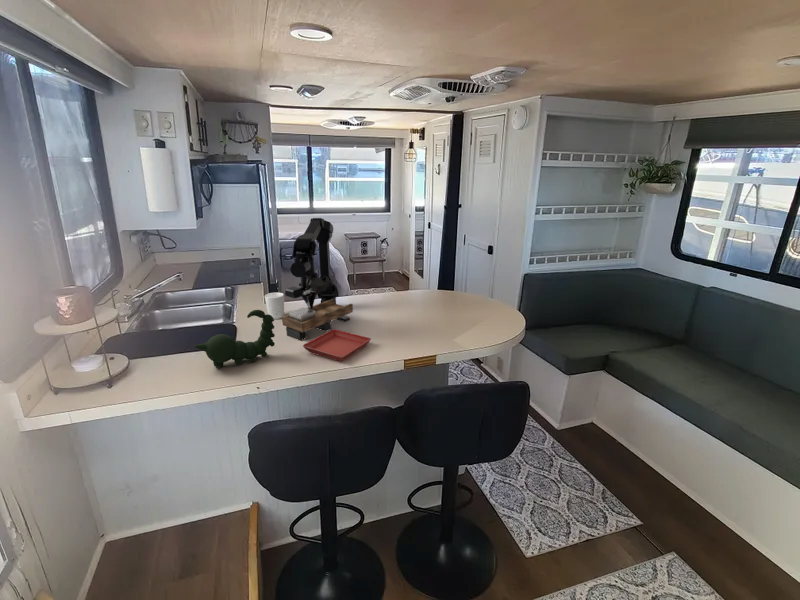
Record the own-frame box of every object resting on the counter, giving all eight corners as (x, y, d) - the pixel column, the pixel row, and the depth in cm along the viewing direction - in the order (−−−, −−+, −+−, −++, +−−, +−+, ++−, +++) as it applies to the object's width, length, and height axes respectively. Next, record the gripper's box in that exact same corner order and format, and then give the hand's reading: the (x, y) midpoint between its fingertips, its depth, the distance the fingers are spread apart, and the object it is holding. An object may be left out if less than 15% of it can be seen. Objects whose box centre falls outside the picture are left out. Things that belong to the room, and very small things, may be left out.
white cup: (281, 320, 181) (278, 298, 178) (264, 319, 182) (261, 297, 179) (288, 313, 188) (286, 292, 185) (272, 313, 190) (269, 292, 186)
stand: (335, 315, 186) (335, 307, 185) (351, 320, 180) (351, 312, 179) (285, 334, 166) (284, 326, 165) (301, 341, 160) (300, 332, 159)
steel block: (304, 316, 170) (303, 307, 168) (316, 320, 165) (315, 310, 164) (290, 321, 164) (289, 312, 163) (301, 325, 160) (300, 316, 159)
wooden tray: (332, 307, 186) (332, 298, 184) (353, 313, 178) (353, 303, 177) (282, 326, 166) (280, 316, 164) (303, 334, 158) (302, 323, 157)
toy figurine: (271, 354, 153) (195, 364, 142) (270, 304, 148) (191, 310, 137) (277, 364, 146) (197, 376, 134) (276, 312, 140) (193, 319, 129)
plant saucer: (372, 345, 156) (372, 337, 155) (342, 365, 141) (341, 356, 140) (334, 336, 165) (333, 328, 164) (302, 354, 150) (301, 345, 149)
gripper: (301, 279, 150) (305, 319, 155) (339, 268, 164) (341, 306, 169) (282, 274, 157) (286, 313, 162) (320, 264, 171) (323, 300, 176)
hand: (310, 308), depth 167 cm, fingers closed
